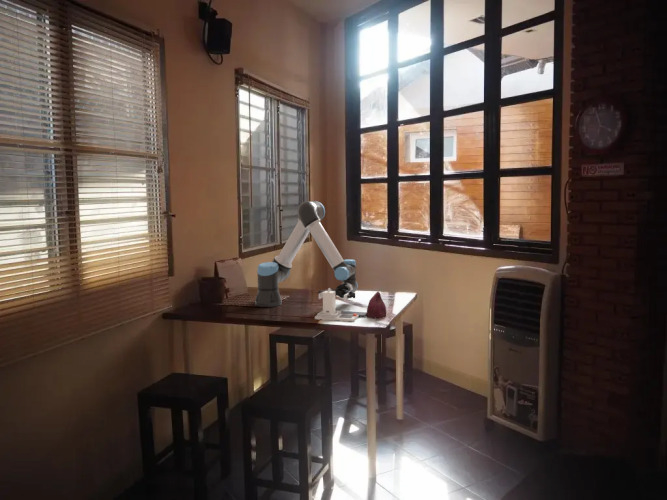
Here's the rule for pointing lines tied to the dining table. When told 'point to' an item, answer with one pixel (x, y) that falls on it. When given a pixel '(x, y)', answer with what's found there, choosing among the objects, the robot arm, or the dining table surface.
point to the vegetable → (376, 307)
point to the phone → (361, 314)
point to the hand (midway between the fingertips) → (331, 297)
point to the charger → (329, 302)
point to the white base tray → (337, 316)
